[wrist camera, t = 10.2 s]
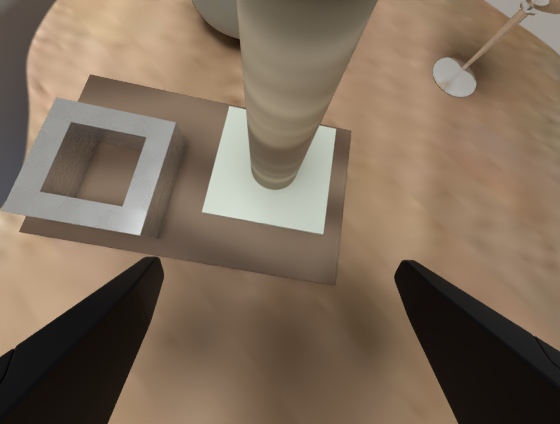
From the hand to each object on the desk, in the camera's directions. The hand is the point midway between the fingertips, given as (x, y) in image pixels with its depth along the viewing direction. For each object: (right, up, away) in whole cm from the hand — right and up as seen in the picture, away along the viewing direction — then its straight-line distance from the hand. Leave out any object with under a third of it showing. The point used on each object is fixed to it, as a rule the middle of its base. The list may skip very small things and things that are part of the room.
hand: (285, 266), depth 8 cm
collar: (-12, +5, +8) cm, 15 cm away
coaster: (-1, +5, +9) cm, 11 cm away
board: (-6, +5, +10) cm, 12 cm away
